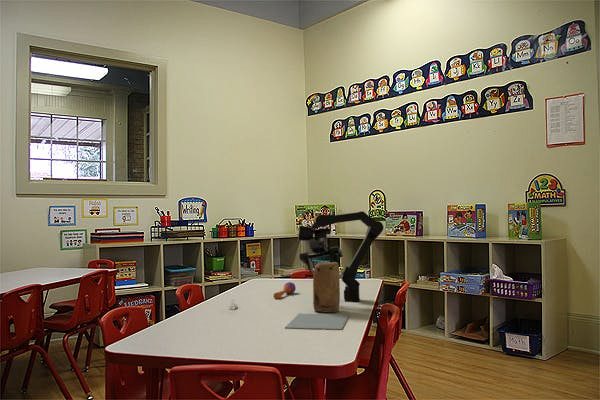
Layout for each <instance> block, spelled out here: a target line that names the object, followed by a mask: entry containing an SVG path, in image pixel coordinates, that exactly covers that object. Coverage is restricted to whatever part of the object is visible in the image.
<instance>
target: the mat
mask: <svg viewBox="0 0 600 400" xmlns="http://www.w3.org/2000/svg"><path fill="white" fill-rule="evenodd" d="M349 317H350V314H345V313H344V314H342V313H298V314H297V315H295V317H294V318H293V319H292V320H291V321H290V322H288V323H287V325H286V326H284V329H288V330H289V329H291V330H293V329H295V330H296V329H297V330H323V329H326V330H327V331H328V330H329V331H330V330H331V331H336V330H337V331H342V330H343V328H344V326H345V324H346V322H347V321H348V319H349Z"/></svg>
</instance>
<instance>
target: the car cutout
mask: <svg viewBox="0 0 600 400" xmlns="http://www.w3.org/2000/svg"><path fill="white" fill-rule="evenodd" d="M235 301H236V300H235V299H234V298H233V299H231V302H230V306H227V310H236V308H239V305H238V304H237V303H236V302H235Z"/></svg>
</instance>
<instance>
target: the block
mask: <svg viewBox="0 0 600 400" xmlns="http://www.w3.org/2000/svg"><path fill="white" fill-rule="evenodd" d="M312 275H313V276H312V291H313V292H312V296H313V297H312V298H313V299H312V300H313V302H312V305H313V311H314V312H318V313H319V312H320V313H328V314H333V313H337V312H339V309H340V302H341V301H340V299H341V296H340V295H341V293H340V291H341V290H340V289H341V287H340V267H339V262H338V261H337V262H330V261H319V262H317V264H316V265H315V266H314V270H313V273H312Z"/></svg>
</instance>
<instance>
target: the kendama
mask: <svg viewBox="0 0 600 400" xmlns="http://www.w3.org/2000/svg"><path fill="white" fill-rule="evenodd" d="M295 292H296V285H295V283H294V282H291V281H288V282H285V284H284V286H283V290H280V291H277V292H274V294H273V298H274V300H280V298H282V297H283V295H284V294H287V295H291V294H294V293H295Z"/></svg>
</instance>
